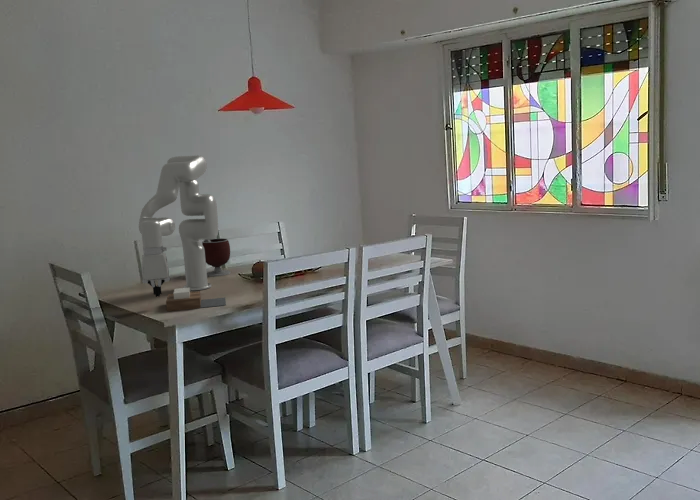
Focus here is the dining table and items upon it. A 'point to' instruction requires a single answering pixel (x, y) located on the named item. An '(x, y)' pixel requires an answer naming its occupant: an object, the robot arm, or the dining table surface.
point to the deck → (184, 302)
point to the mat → (213, 302)
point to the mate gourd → (217, 255)
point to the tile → (182, 293)
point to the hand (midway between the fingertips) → (157, 296)
